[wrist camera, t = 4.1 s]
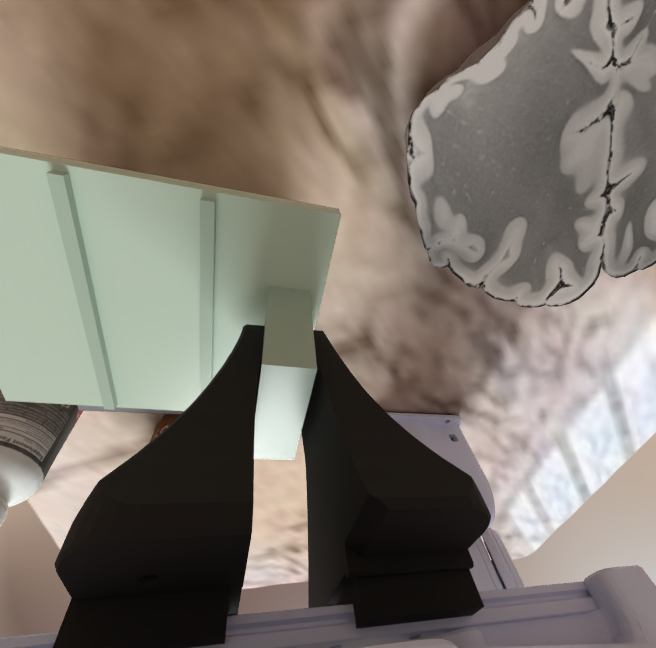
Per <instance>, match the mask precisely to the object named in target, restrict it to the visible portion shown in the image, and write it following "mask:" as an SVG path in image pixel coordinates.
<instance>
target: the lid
mask: <svg viewBox="0 0 656 648" xmlns="http://www.w3.org/2000/svg"><path fill="white" fill-rule="evenodd" d="M340 217H341V214H340V211H339V209H336V208H331V207H326V206H320V205H315V204H309V203H304V202H298V201H293V200H288V199H282V198H277V197H271V196H266V195H261V194H255V193H250V192H244V191H239V190H233V189H228V188H223V187H217V186H212V185H206V184H201V183H196V182H190V181H185V180H179V179H174V178H169V177H163V176H158V175H152V174H147V173H141V172H136V171H131V170H125V169H120V168H114V167H109V166H104V165H98V164H93V163H87V162H82V161H76V160H71V159H66V158H60V157H55V156H49V155H44V154H39V153H33V152H28V151H22V150H17V149H12V148H6V147H1V146H0V390H1V392H2V394H3V396H4V398H5V400H6V401H18V402H35V403H52V404H69V405H86V406H103V407H104V409H109V410H115V408H116V407H121V408H138V409H155V410H172V411H185V410H186V409H187V408H188V407H189V406H190V405H191V404H192V403H193V402H194V401H195V400H196V398H197V397H198V396H199V395H200V394H201V393H202V392H203V391H204V389H205V388H206V387H207V386H208V384H209V383H210V382H211V381H212V379H213V378H214V377H215V375H216V374H217V373H218V371H219V370H220V369H221V367H222V366H223V364H224V363H225V361H226V360H227V358H228V356H229V355H230V353H231V352H232V350H233V348H234V347H235V345H236V343H237V341H238V339H239V337H240V334H241V332H242V329H243V326H245V325H246V324H250V325H261V326H265V329H264V341H263V352H262V360H261V368H260V376H259V384H258V392H257V400H256V407H255V431H254V459H276V460H294V458H295V454H296V450H297V447H298V443H299V439H300V435H301V431H302V427H303V423H304V419H305V415H306V411H307V407H308V403H309V400H310V396H311V392H312V388H313V384H314V380H315V376H316V372H317V362H316V352H315V342H314V332H313V330H315V326H316V322H317V317H318V313H319V309H320V304H321V300H322V296H323V291H324V287H325V283H326V278H327V274H328V269H329V265H330V261H331V256H332V252H333V248H334V243H335V239H336V235H337V230H338V226H339V221H340Z"/></svg>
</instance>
